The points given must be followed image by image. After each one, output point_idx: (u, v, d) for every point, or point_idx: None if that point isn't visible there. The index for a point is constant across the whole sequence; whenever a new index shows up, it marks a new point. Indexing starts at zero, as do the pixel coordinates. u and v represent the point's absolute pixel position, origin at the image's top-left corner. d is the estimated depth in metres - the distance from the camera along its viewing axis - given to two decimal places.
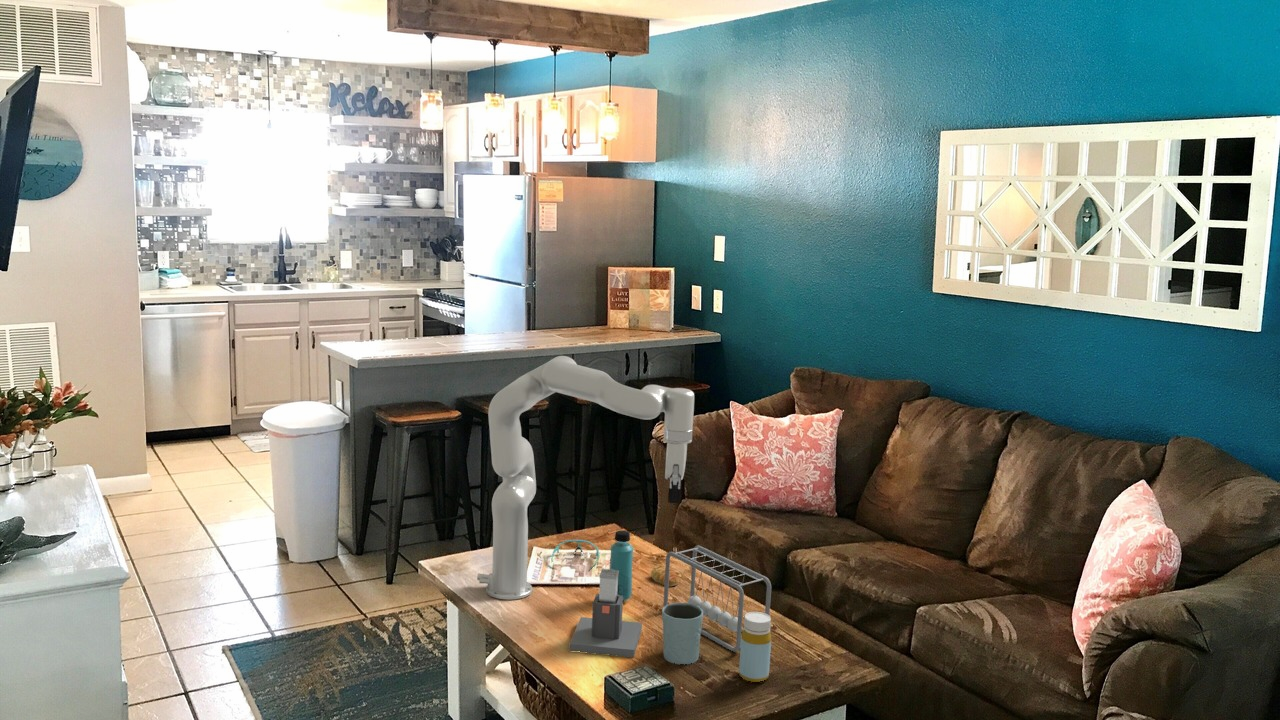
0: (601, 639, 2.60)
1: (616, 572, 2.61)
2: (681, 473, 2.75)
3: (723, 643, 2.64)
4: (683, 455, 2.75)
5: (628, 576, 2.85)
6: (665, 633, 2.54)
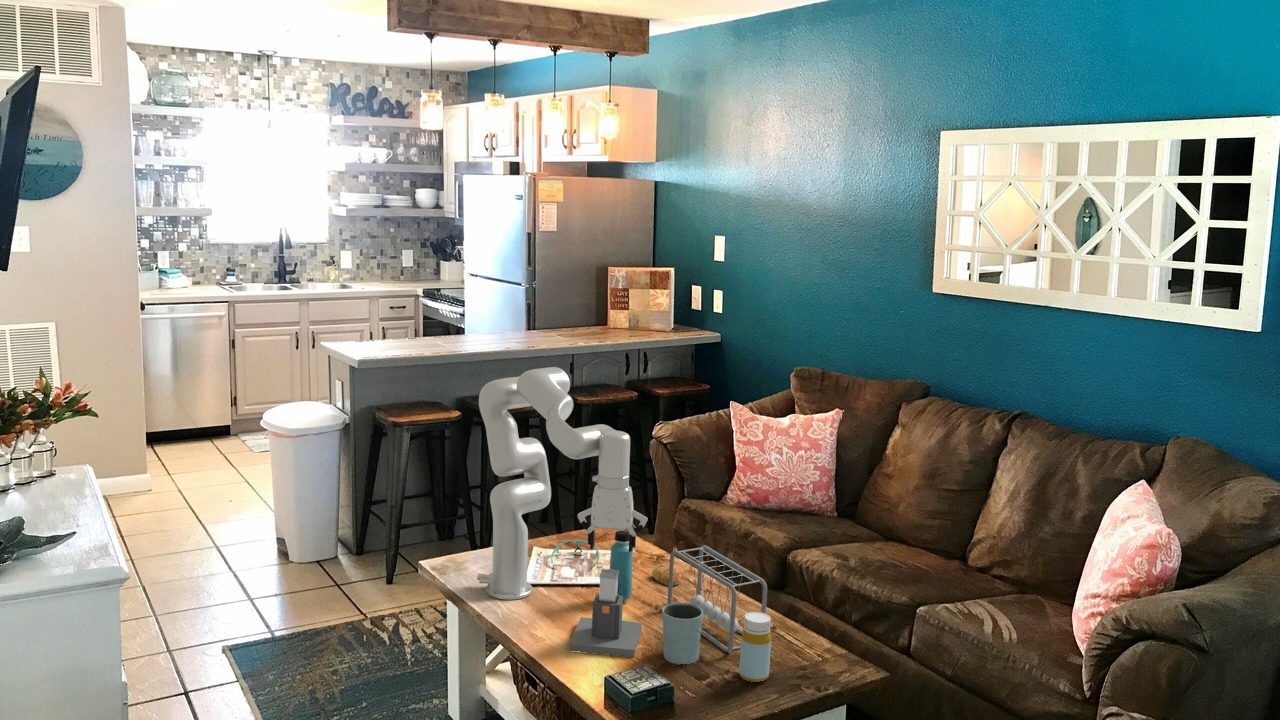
0: (601, 639, 2.60)
1: (616, 572, 2.61)
2: None
3: (718, 643, 2.64)
4: None
5: (628, 576, 2.85)
6: (665, 633, 2.54)
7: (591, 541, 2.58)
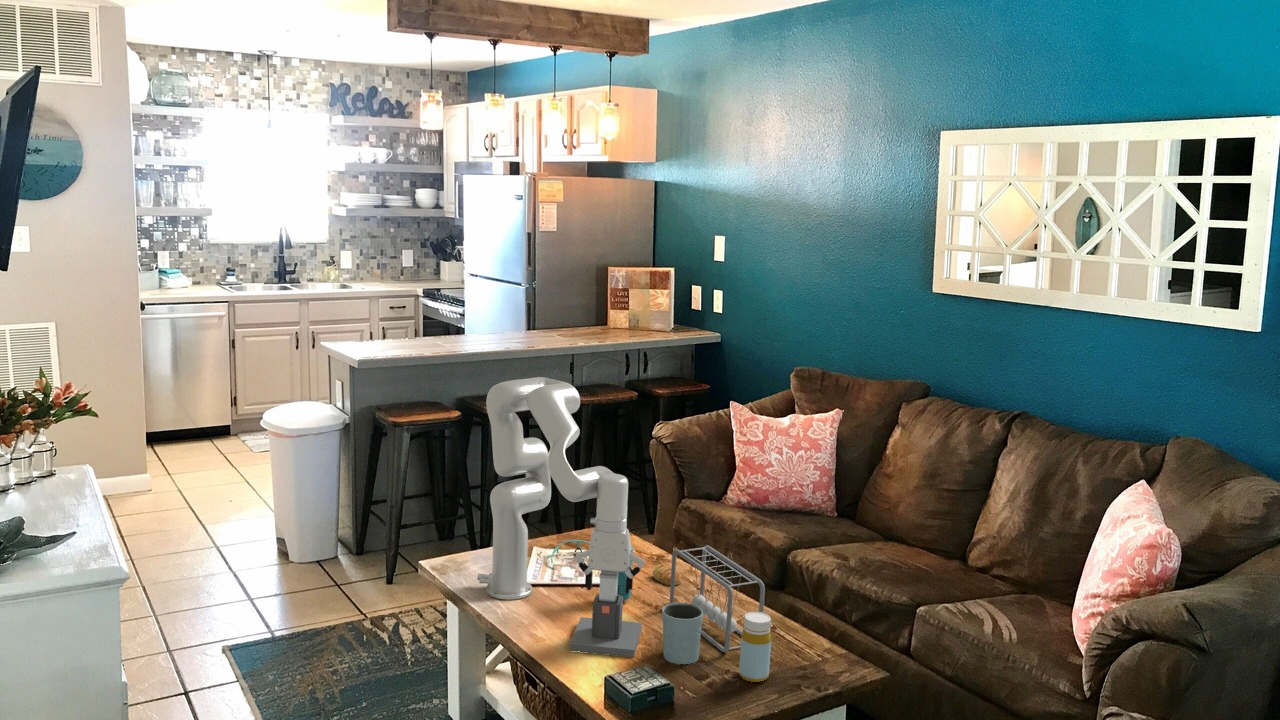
0: (601, 639, 2.60)
1: (616, 572, 2.61)
2: None
3: (715, 643, 2.64)
4: None
5: None
6: (665, 633, 2.54)
7: (588, 583, 2.61)
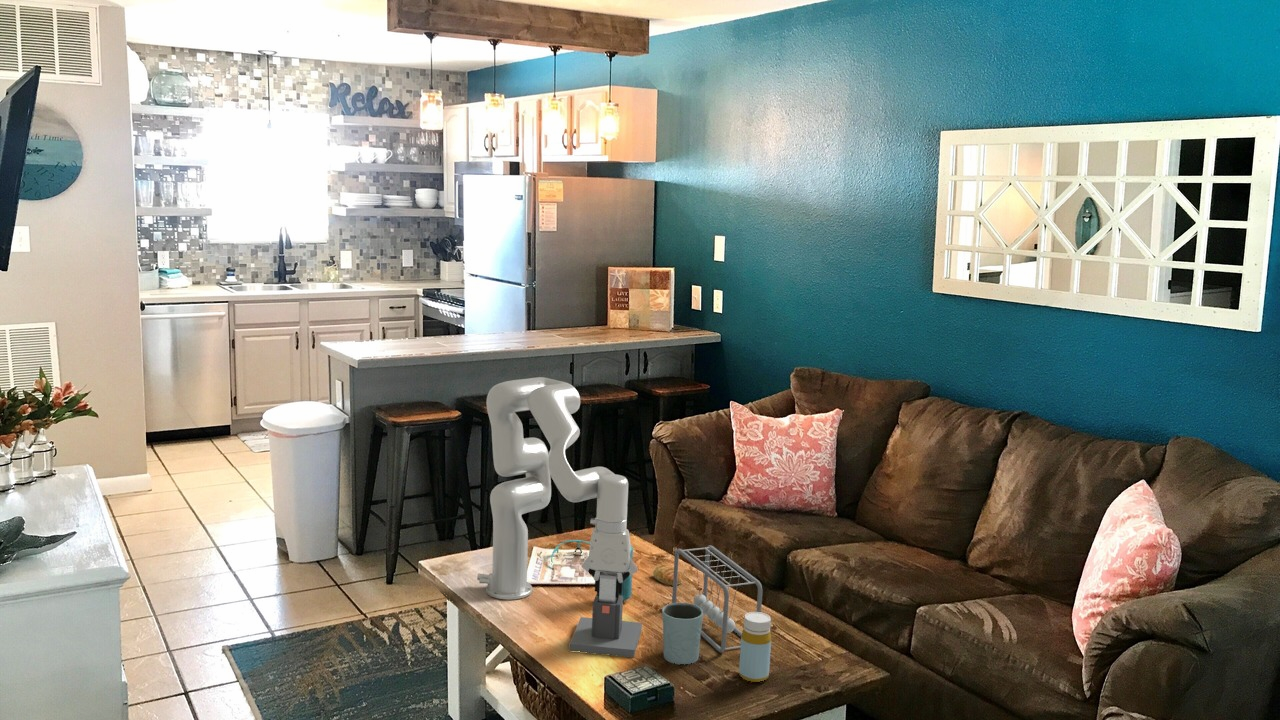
0: (601, 639, 2.60)
1: (616, 572, 2.61)
2: None
3: (712, 643, 2.64)
4: None
5: None
6: (665, 633, 2.54)
7: (598, 588, 2.61)
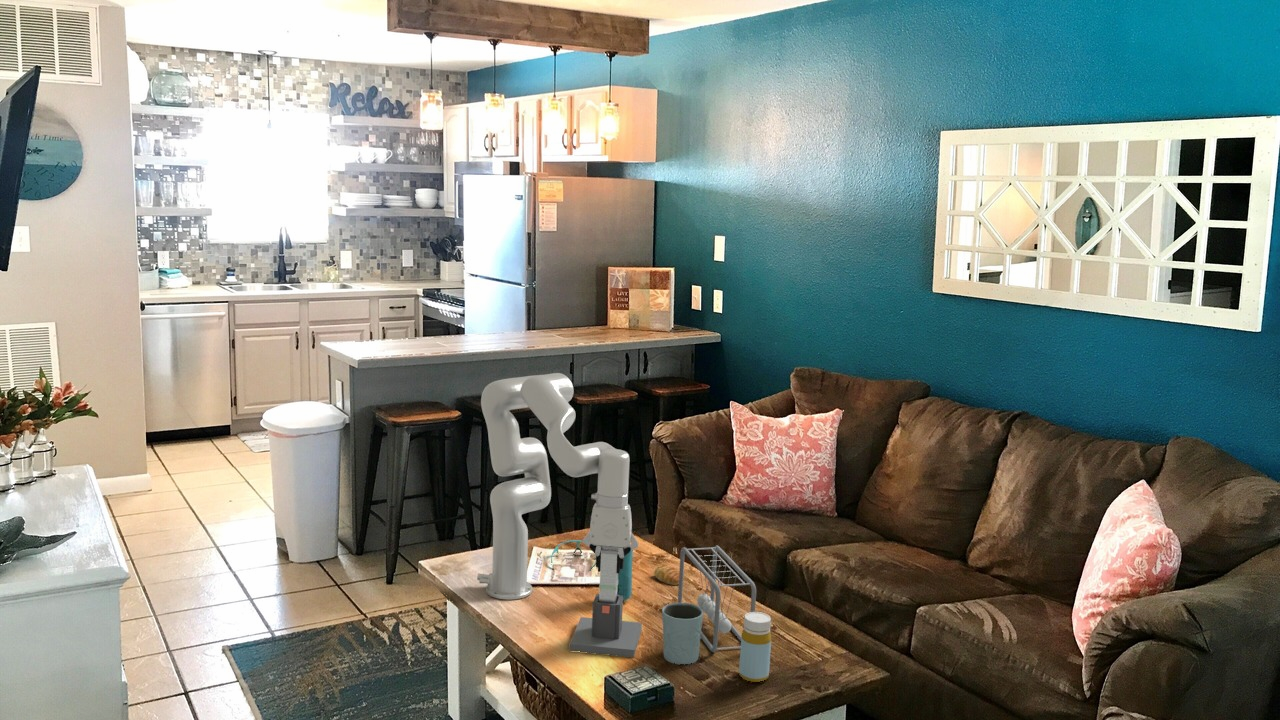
0: (601, 639, 2.60)
1: (617, 548, 2.60)
2: None
3: (706, 642, 2.64)
4: None
5: (628, 576, 2.85)
6: (665, 633, 2.54)
7: (599, 564, 2.59)
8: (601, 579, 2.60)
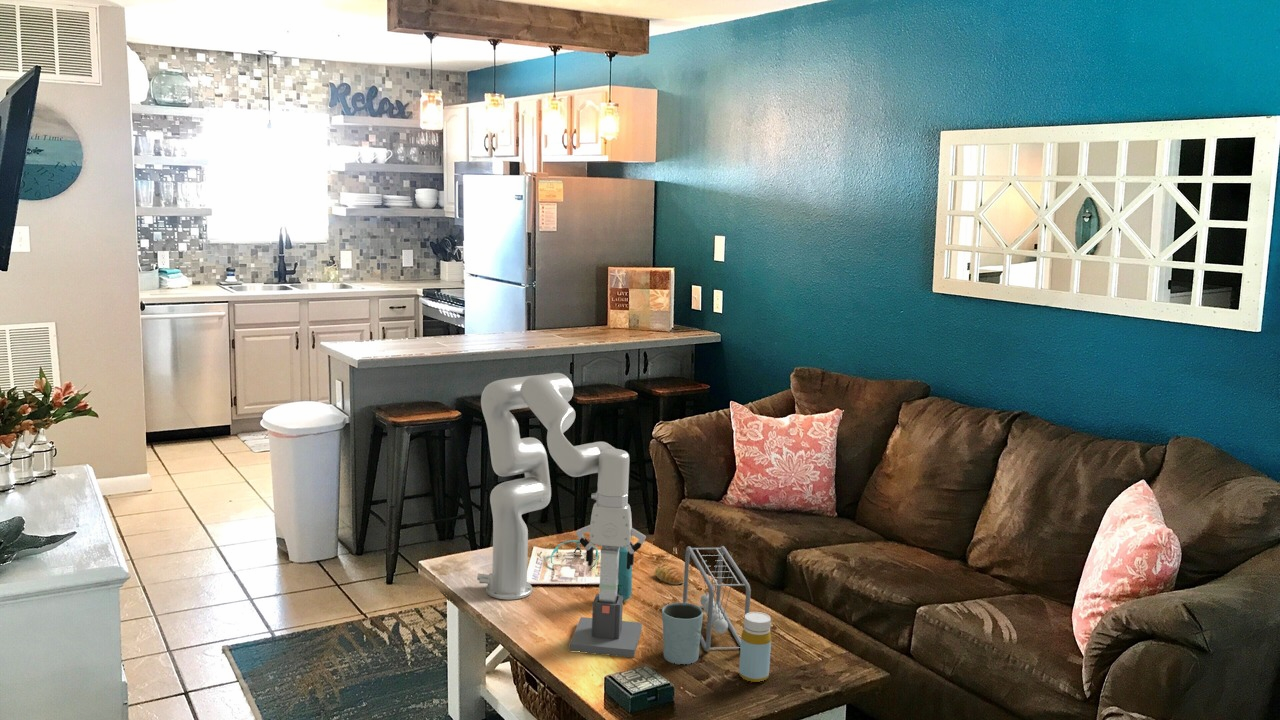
0: (601, 639, 2.60)
1: (617, 547, 2.60)
2: None
3: (702, 641, 2.64)
4: None
5: (628, 576, 2.85)
6: (665, 633, 2.54)
7: (589, 558, 2.59)
8: (601, 579, 2.60)
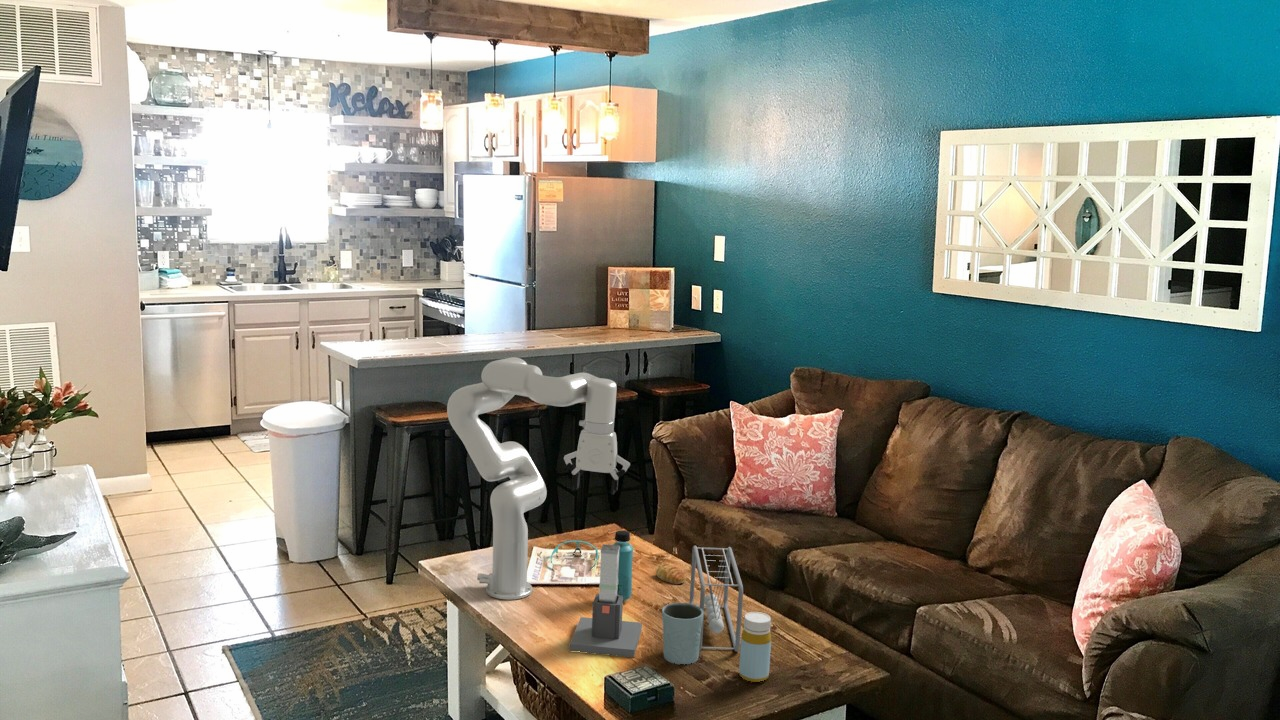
0: (601, 639, 2.60)
1: (617, 547, 2.60)
2: (616, 461, 2.72)
3: None
4: None
5: (628, 576, 2.85)
6: (665, 633, 2.54)
7: (575, 482, 2.71)
8: (601, 579, 2.60)
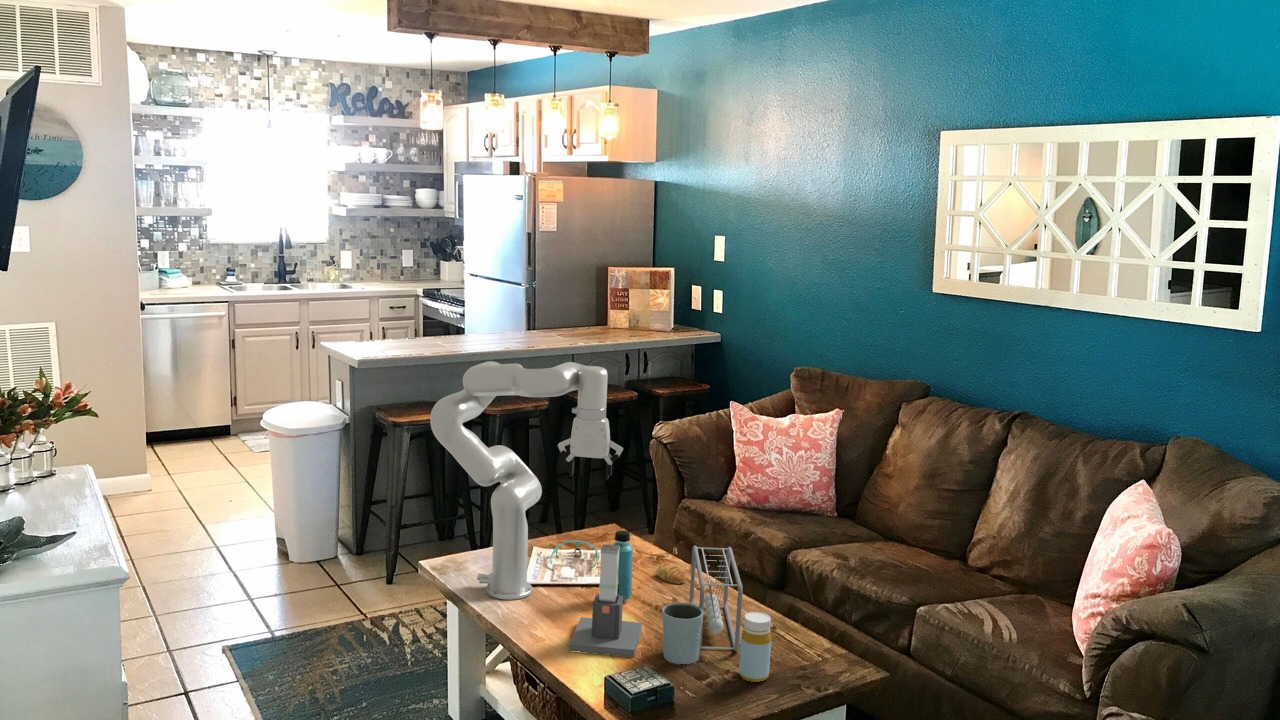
0: (601, 639, 2.60)
1: (617, 547, 2.60)
2: (609, 446, 2.78)
3: None
4: None
5: (628, 576, 2.85)
6: (665, 633, 2.54)
7: (570, 469, 2.77)
8: (601, 579, 2.60)
